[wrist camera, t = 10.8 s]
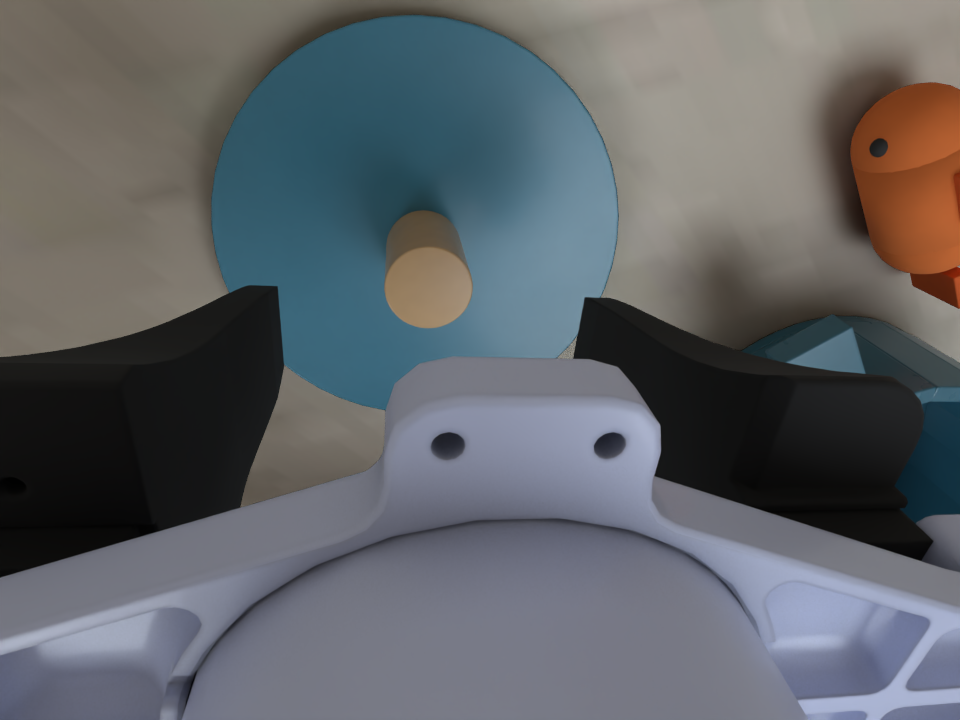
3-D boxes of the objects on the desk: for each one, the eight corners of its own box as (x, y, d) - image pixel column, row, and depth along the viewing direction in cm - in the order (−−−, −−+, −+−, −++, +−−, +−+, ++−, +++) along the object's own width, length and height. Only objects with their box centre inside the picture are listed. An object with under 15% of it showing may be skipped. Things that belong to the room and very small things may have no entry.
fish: (948, 254, 23) (1038, 290, 20) (865, 299, 24) (939, 341, 20) (915, 56, 19) (1019, 62, 16) (816, 116, 20) (898, 133, 16)
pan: (733, 598, 32) (793, 698, 27) (598, 367, 24) (649, 452, 19) (955, 493, 30) (1061, 582, 25) (893, 200, 22) (1034, 249, 17)
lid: (487, 441, 25) (505, 523, 21) (165, 311, 20) (107, 382, 16) (684, 160, 20) (757, 194, 16) (319, -91, 15) (290, -134, 11)
